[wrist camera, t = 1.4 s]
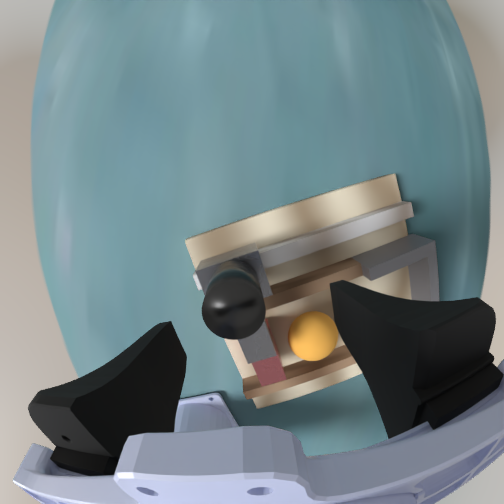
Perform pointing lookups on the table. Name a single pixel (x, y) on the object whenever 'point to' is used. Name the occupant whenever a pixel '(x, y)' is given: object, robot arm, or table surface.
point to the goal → (405, 264)
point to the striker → (241, 307)
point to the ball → (312, 336)
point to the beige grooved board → (312, 272)
